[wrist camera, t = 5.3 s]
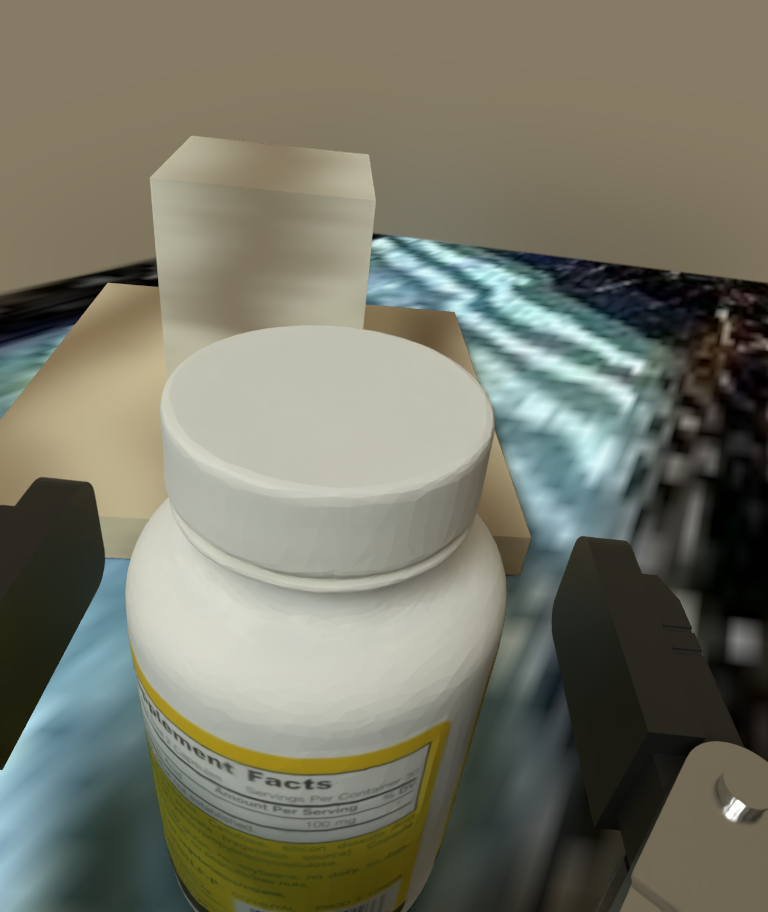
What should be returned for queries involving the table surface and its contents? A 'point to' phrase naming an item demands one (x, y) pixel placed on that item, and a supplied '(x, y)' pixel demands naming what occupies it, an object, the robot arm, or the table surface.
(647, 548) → the table surface
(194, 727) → the supplement bottle
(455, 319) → the pedestal
